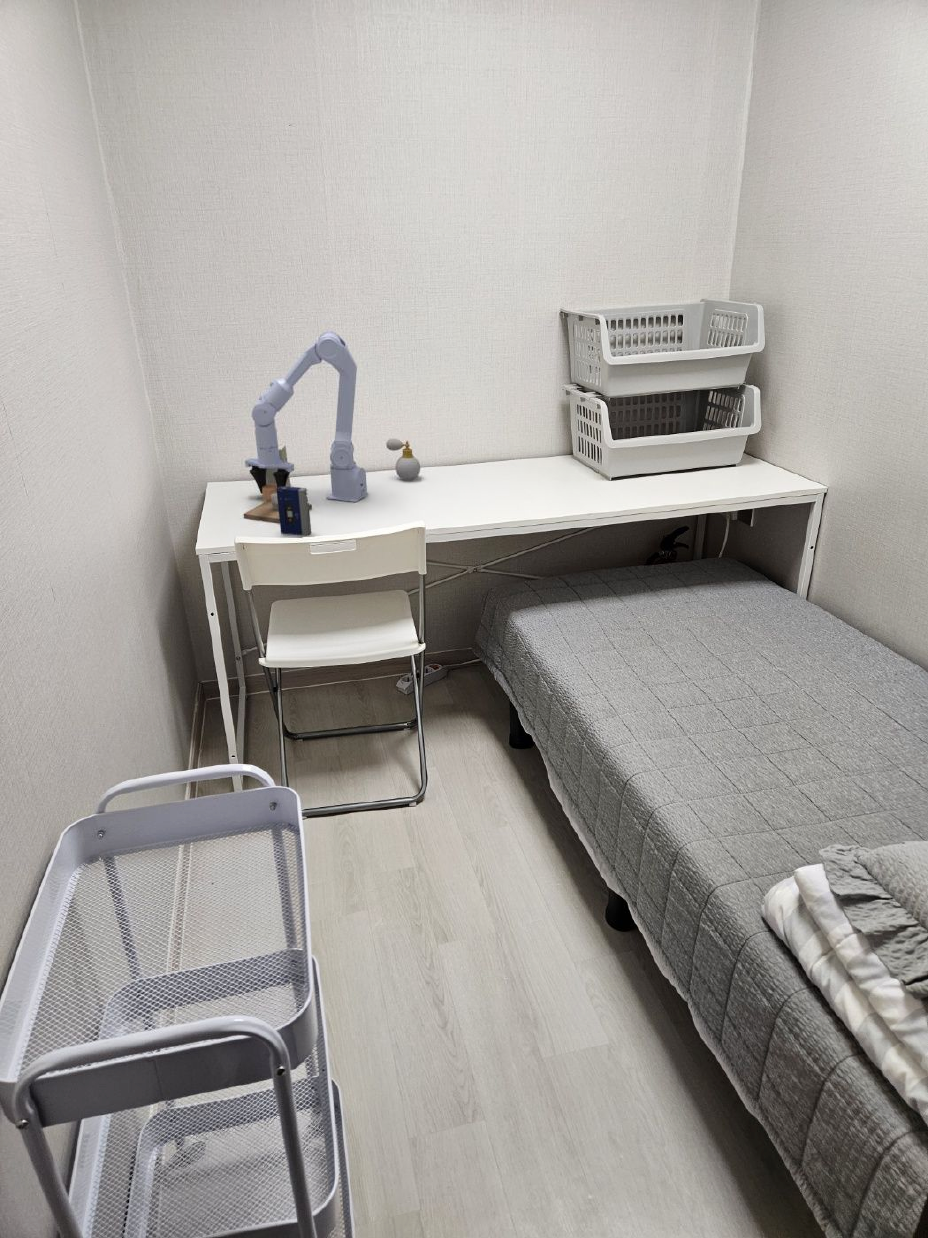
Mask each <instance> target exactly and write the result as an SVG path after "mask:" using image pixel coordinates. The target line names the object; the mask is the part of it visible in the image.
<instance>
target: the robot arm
mask: <svg viewBox="0 0 928 1238" xmlns="http://www.w3.org/2000/svg"><path fill="white" fill-rule="evenodd" d="M323 361H324V362H326V363H328V364H329V365H331V366H332V367H333V368H334V369H335V370H336V371H337V372H338V374H339V380H338V381H339V382H338V390H337V391H338V392H337V405H336V406H337V408H336V421H335V422H336V423H335V435H334V440H333V442H332V444H331V448H330V450H331V452H330V454H329V459H330V464H329V470H330V483H331V484H330V485H331V493H330V494H328V495H327V496H326V497H325V498H326V499H329V500H335V501H344V502H351V503H357V502H358V501H360V500H361V499H363V498H364V497H366V496H368V495H369V492H368V487H367V473H366V470H365V469H364V468H362V467H360V466H358V465H357V462H356V461H355V460H354V452H355V447H354V444H353V442H352V436H353V435H352V433H353V423H354V422H353V421H354V409H355V399H356V398H355V395H356V387H357V386H356V384H357V382H356V381H357V374H358V373H357V372H358V371H357V369H358V365H357V363H356V360H355V359H354V356H353V355H352V353H351V352H350V349H349V348H348V345H347V343H346V341H345V340H344V339H343V338H342V337H341V336H340V335H339V334H337V333H336V332H334V331H329V330H328V331H325V332H323V333H321V334H320V336H319V337H318V339H316V340H315V341H313V342H312V343H311V344H310V345H309V346H308V347H307V348H306V349H305V350H304V352H303V353H301V355H300V357H299V358H298V359H297V361H296V362H295V363H294V365H293V366H292V367H291V369H290V370H289V371H288V373H287V374H286V375H285V376H284V377H283V378H276V379H275V380H271V382H269V384H268V386H270V387H268V389H267V390H266V392H265V393H264V394H263V395H260V396H259V397H258V401H257V402H256V404H255V405H254V406H253V408H252V411H251V418H252V420H253V422H254V428H255V430H254V435H255V442H256V451H257V452H256V453H257V458H246V459H245V460H244V464H245V465H244V466H245V467H246V468H249V467H251V469H250V470H249V474H250V475H251V476H252V477H253V480H254V481H255V483H256V485H257V488H258V489H259V492H260V494H261V495H263V494H262V487H263V486H264V485H266V470H267V469H274V470H278V471H276V472H274V473H273V475H274V477H275V480H276V484H277V488H278V487H279V486H286V482H287V479H288V476H289V477H290V473H292V472H293V471H295V463H291V462H289V461H287V462H284V461H281V460H279V450H278V445H279V442H278V433H277V428H276V420H275V417H276V414H277V413H278V412H280V411H281V410H282V409H283V408H284V407H285V405H286V404H287V403H288V401H290V399H291V398H292V397H293V395H294V394H295V391H294V386H295V385H296V384H297V382H299V381H300V379H301V378H302V377H303V376H304V375H305V374H306V373H307V371H308V370H309V369H310V368H311V367H312V366H314V365H318V364H322V362H323Z"/></svg>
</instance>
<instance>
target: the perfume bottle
mask: <svg viewBox="0 0 928 1238" xmlns="http://www.w3.org/2000/svg"><path fill="white" fill-rule="evenodd" d="M385 444H386V448H387V449H388V450H389V451H395V452H396V451H399V450H401V449H402V456H400V457H399V458H398V459H397V460H396V463H395V472H396V475H397V476H398V477H399V478H400V479H402V480H404V479H405V481H411V479H412V480H414V479H416V478H417V477H418V476H419V474H420V473H421V464H420V461H419V460H418V458H417V457H415V456H414V454H413V449H412V448H409V447H410V446H411V445H410V443H409V440H406V441H405V443H403V441H401V440H400V439H398V438H389V439H388V440H387V441H386V443H385ZM404 447H405V448H404Z"/></svg>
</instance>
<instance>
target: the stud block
mask: <svg viewBox="0 0 928 1238" xmlns="http://www.w3.org/2000/svg"><path fill="white" fill-rule="evenodd" d="M311 510H313V506H312V503H311V504H310V503H309V511H311ZM243 519H247V520H253V521H260V520H262V521H261V522H269V523H274V524H275V523H276V524H280V519H279V509H278V500H277V493H274V494H271V499H270V500H268V501H264V502H263V503H261V504H259V505H257V506H255V507H253V508H251V509H250V510H248V511H246V512H244V513H243Z"/></svg>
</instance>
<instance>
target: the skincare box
mask: <svg viewBox="0 0 928 1238" xmlns="http://www.w3.org/2000/svg"><path fill="white" fill-rule="evenodd" d="M278 450H279V460H281V461H284V462H288V455H287V448H286V445H281V444H278ZM276 471H278V470H274V469H267V470H266V485H267V484H276V480H275V477H274V475H273V473H274V472H276ZM285 487H291V480H290V475H289V476H288V479H287V482H286V486H285Z"/></svg>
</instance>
